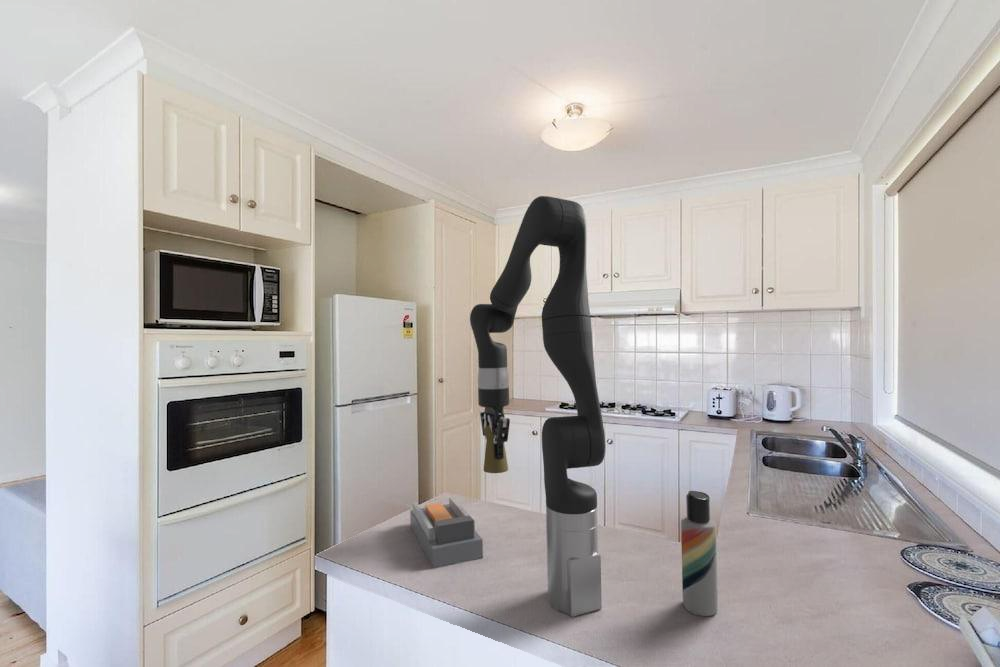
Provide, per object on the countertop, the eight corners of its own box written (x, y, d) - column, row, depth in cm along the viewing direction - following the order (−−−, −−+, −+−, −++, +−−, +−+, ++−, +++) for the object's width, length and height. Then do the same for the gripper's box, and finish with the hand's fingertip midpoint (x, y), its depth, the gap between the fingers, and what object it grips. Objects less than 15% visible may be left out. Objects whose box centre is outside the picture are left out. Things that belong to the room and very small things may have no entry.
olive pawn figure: (508, 473, 111) (506, 426, 111) (482, 473, 111) (481, 426, 111) (508, 466, 117) (507, 421, 117) (484, 466, 117) (483, 422, 117)
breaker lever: (460, 532, 105) (460, 527, 105) (443, 535, 104) (442, 530, 104) (440, 507, 121) (440, 502, 121) (425, 509, 120) (425, 505, 120)
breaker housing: (482, 557, 102) (482, 521, 102) (433, 568, 98) (432, 529, 98) (452, 518, 124) (451, 488, 124) (410, 525, 120) (410, 494, 120)
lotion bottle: (688, 594, 86) (686, 485, 86) (722, 605, 83) (719, 491, 83) (678, 609, 82) (675, 494, 82) (712, 621, 78) (710, 501, 78)
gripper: (519, 387, 109) (521, 461, 109) (496, 383, 122) (498, 449, 122) (489, 389, 106) (491, 465, 106) (469, 384, 119) (471, 452, 119)
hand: (495, 456), depth 114 cm, fingers closed on olive pawn figure, 4 cm apart
